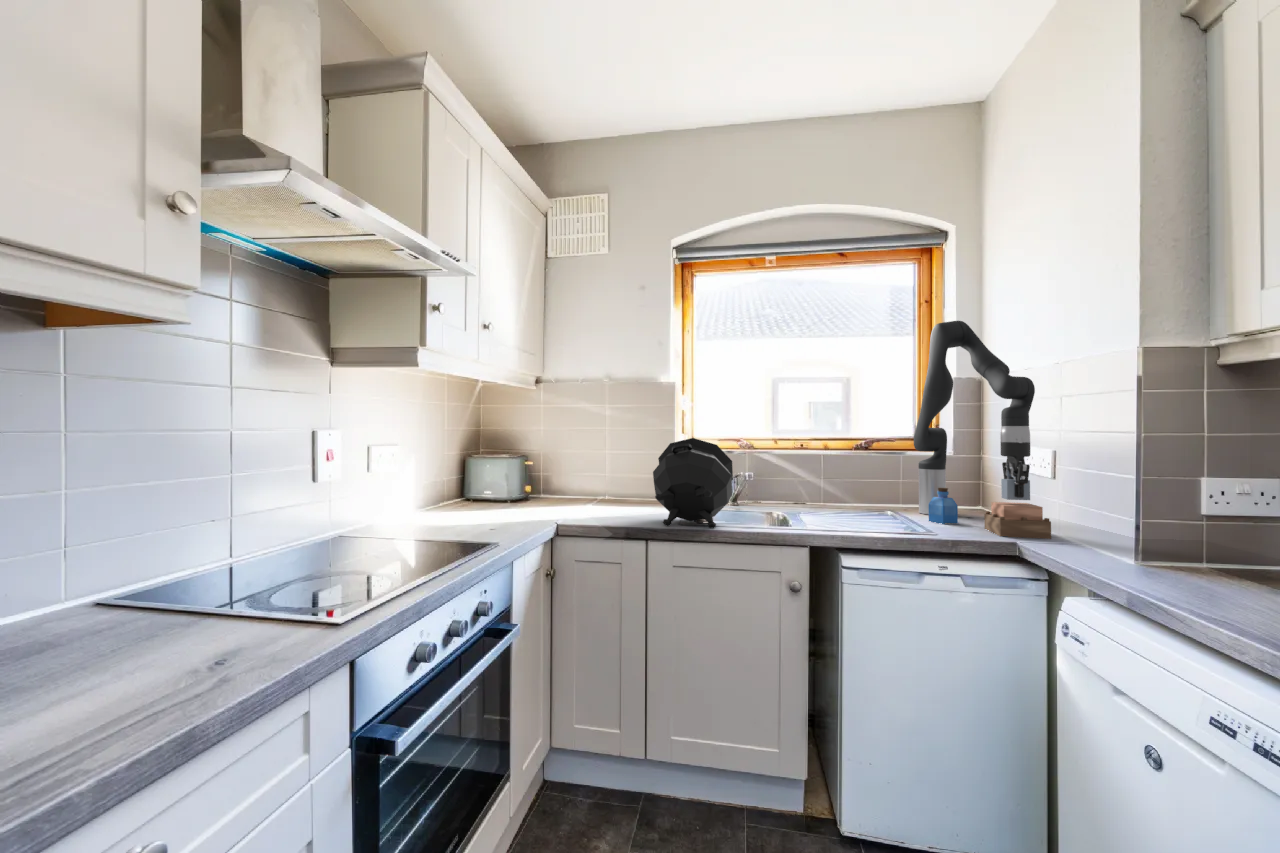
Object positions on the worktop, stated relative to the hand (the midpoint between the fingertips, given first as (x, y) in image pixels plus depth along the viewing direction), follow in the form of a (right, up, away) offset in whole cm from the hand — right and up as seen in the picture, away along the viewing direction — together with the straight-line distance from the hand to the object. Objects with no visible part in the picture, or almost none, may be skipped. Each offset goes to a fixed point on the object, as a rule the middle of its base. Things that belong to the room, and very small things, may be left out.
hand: (1015, 496), depth 163 cm
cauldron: (-98, -12, +16) cm, 100 cm away
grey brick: (0, -1, 0) cm, 1 cm away
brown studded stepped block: (0, -12, 0) cm, 12 cm away
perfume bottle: (-10, -12, +21) cm, 27 cm away
